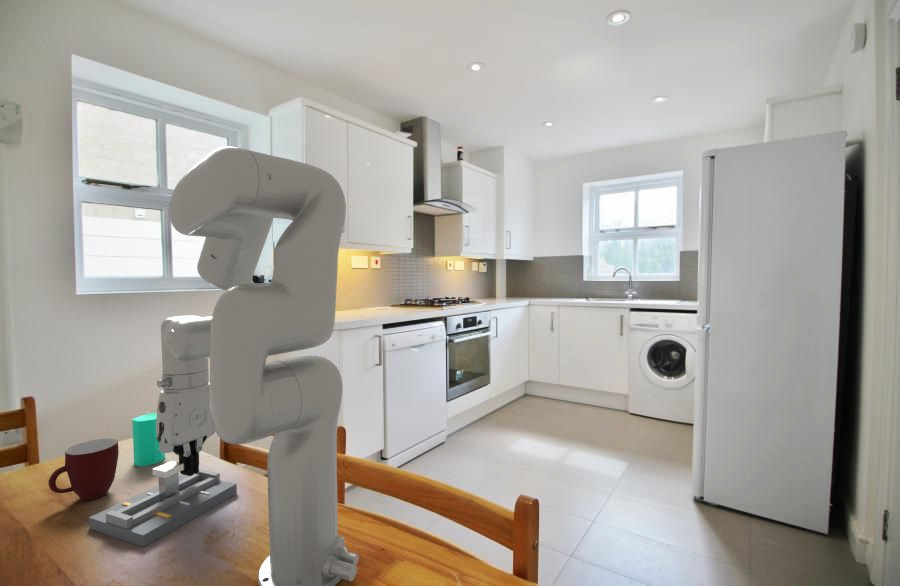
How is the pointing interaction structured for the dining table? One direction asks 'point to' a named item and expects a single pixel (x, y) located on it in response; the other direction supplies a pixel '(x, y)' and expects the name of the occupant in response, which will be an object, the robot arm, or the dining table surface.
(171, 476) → the fader tab
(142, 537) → the console
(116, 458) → the mug
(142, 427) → the candle
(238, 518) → the dining table surface
